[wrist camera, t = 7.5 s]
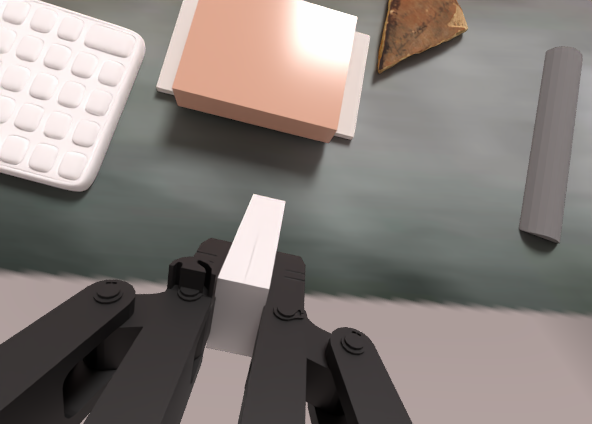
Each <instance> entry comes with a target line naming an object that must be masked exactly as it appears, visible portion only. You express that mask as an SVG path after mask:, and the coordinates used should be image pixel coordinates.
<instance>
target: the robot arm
mask: <svg viewBox="0 0 592 424" xmlns="http://www.w3.org/2000/svg"><path fill="white" fill-rule="evenodd" d="M284 207H285V201H281V200H277V199H273V198H268V197H264V196H260V195H255V194H253V196H252V199H251V201H250V203H249V206H248V208H247V210H246V213H245V215H244V217H243V220H242V222H241V224H240V227H239V229H238V232H237V234H236V236H235V239H234V241H233V243H232V242H227V241H223V240H218V239H214V238H210V239H208V240H206V241H205V242H203V243H201V245H200V247H199V248H198V250H197V253H195V255H194V257H182V258H179V259H177V260H174V261H173V262H172V263H171V264H170V265H169V274H168V285H167V289H166V291H165V292H162V293H157V294H135V290H134V288H133V286H132V285H130V284H129V283H127V282H124V281H120V280H104V281H99V282H96V283H94V284H92V285H90V286H88V287H86V288H85V289H84V290H82V291H80V292H79V293H77V294H76V295H74V296H73V297H71V298H70V299H68V300H67V301H65V302H64V303H62V304H61V305H59V306H58V307H56V308H55V309H53V310H52V311H50V312H49V313H47V314H46V315H44V316H43V317H41V318H40V319H38V320H37V321H35V322H34V323H32V324H31V325H29V326H28V327H26V328H25V329H23V330H22V331H20V332H19V333H17V334H16V335H14V336H13V337H11V338H10V339H8V340H7V341H5V342H4V343H2V344H1V345H0V424H80V423H81V422H82V420H83V419H84V418H85V417H86V416H87V415H88V414H89V413H90V414H89V415H88V417H87V419H86V420H85V422H84V424H180V422H181V419H182V416H183V413H184V411H185V408H186V405H187V402H188V399H189V397H190V393H191V391H192V388H193V385H194V383H195V380H196V377H197V374H198V371H199V369H200V366H201V363H202V357H203V352H204V348H205V345H206V343H207V346H206V348H211V349H215V350H220V351H225V352H230V353H235V354H240V355H244V356H249V357H252V359H251V364H250V368H249V372H248V376H247V380H246V384H245V391H244V396H243V402H242V406H241V411H240V415H239V420H238V424H305V405H306V402H308V410H309V414H310V419H311V423H312V424H412V422H411V420H410V418H409V416H408V413H407V411H406V409H405V407H404V405H403V403H402V401H401V399H400V397H399V395H398V393H397V391H396V389H395V387H394V385H393V383H392V381H391V379H390V377H389V375H388V372H387V371H386V369H385V366H384V364H383V362H382V360H381V358H380V356H379V354H378V352H377V350H376V348H375V346H374V344H373V343H372V341H371V340H370V339H369V338H368V337H367V336H366V335H365V334H363V333H362V332H360V331H358V330H356V329H353V328H348V327H343V328H338V329H336V330H334V331H333V332H332V334H331V333H329V332H327V331H325V330H322V329H320V328H319V327H317V326H315V325H314V324H313V323H312V322H311V321H310V320H309V319H308V318H307V314H306V311H305V310H304V293H305V264H304V262H303V260H302V258H301V257H299V256H295V255H290V254H286V253H281V252H277V251H276V250H277V245H278V239H279V234H280V228H281V223H282V218H283V212H284Z"/></svg>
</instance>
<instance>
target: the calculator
mask: <svg viewBox="0 0 592 424" xmlns="http://www.w3.org/2000/svg"><path fill="white" fill-rule="evenodd" d="M56 13H57V14H56ZM3 19H4V20H3ZM144 55H145V43H144V40H143V39H142V38H141V36H140V35H139V34H137V33H135V32H134V31H132V30H129V29H126V28H124V27H121V26H118V25H115V24H112V23H108V22H105V21H102V20H99V19H96V18H93V17H90V16H86V15H83V14H80V13H77V12H74V11H71V10H67V9H64V8H61V7H58V6H55V5H52V4H49V3H45V2H42V1H39V0H0V61H1V62H0V172H1V173H4V174H8V175H12V176H16V177H20V178H23V179H27V180H31V181H35V182H39V183H42V184H46V185H50V186H54V187H58V188H62V189H66V190H71V191H84V190H87V189H88V188H89V187H90V186H91V185H92V183H93V182H94V180H95V178H96V176H97V174H98V171H99V169H100V166H101V164H102V161H103V159H104V156H105V154H106V151H107V149H108V146H109V144H110V141H111V139H112V136H113V134H114V131H115V129H116V126H117V124H118V121H119V119H120V116H121V114H122V111H123V109H124V106H125V104H126V101H127V99H128V96H129V94H130V91H131V89H132V86H133V84H134V81H135V79H136V76H137V74H138V71H139V69H140V66H141V64H142V61H143V58H144ZM17 57H18V58H17ZM97 58H98V59H97ZM2 87H3V88H2ZM14 100H15V101H14ZM98 124H99V125H98ZM45 135H46V136H45ZM32 169H33V170H32ZM59 175H60V176H61V177H60V176H59Z"/></svg>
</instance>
